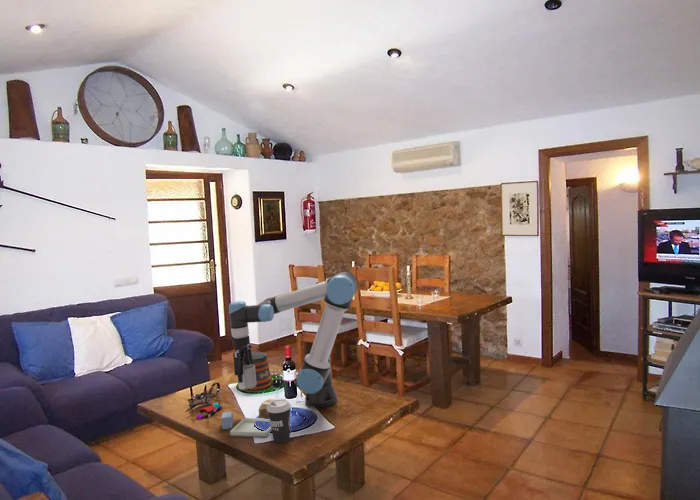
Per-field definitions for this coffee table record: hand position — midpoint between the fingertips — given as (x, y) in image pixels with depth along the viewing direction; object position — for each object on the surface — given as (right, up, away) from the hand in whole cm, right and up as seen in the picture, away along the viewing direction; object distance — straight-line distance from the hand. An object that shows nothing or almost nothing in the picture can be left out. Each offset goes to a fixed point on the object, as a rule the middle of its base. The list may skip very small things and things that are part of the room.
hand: (246, 385), depth 225 cm
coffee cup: (+20, -14, -27) cm, 36 cm away
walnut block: (+10, -13, -4) cm, 17 cm away
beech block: (+10, -12, +5) cm, 17 cm away
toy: (-18, -15, +6) cm, 24 cm away
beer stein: (-4, -11, +40) cm, 42 cm away
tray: (+7, -14, -16) cm, 22 cm away
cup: (0, 0, +1) cm, 1 cm away
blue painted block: (-6, -15, -10) cm, 19 cm away
